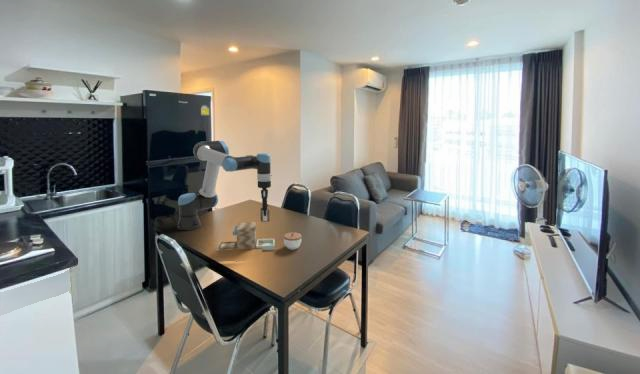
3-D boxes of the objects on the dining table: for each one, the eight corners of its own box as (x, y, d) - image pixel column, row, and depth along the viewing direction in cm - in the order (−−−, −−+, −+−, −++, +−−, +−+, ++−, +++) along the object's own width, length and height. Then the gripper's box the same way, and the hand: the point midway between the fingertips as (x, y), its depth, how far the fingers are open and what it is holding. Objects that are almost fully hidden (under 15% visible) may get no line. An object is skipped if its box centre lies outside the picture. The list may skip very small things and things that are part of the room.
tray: (256, 250, 175) (256, 246, 175) (257, 243, 186) (257, 239, 185) (274, 249, 177) (274, 245, 177) (274, 242, 187) (274, 238, 187)
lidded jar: (291, 242, 188) (291, 228, 186) (305, 246, 182) (305, 232, 180) (279, 248, 179) (279, 233, 177) (293, 252, 173) (293, 237, 171)
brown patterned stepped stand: (215, 252, 172) (214, 230, 169) (219, 244, 183) (218, 223, 181) (255, 250, 175) (254, 228, 172) (256, 242, 187) (255, 222, 184)
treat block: (260, 221, 175) (260, 210, 174) (261, 219, 180) (260, 207, 178) (269, 221, 176) (269, 209, 174) (269, 218, 181) (269, 207, 179)
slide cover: (232, 235, 172) (232, 231, 172) (234, 229, 182) (234, 226, 181) (250, 234, 174) (250, 231, 173) (251, 228, 183) (251, 225, 183)
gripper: (270, 183, 165) (271, 223, 170) (270, 177, 182) (271, 214, 187) (256, 183, 164) (258, 224, 168) (258, 177, 181) (259, 214, 186)
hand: (265, 219), depth 178 cm, fingers closed on treat block, 5 cm apart
